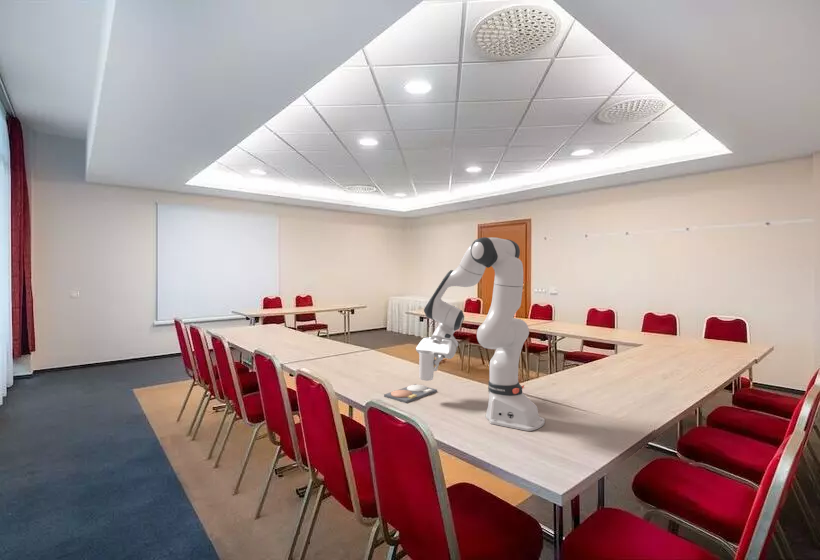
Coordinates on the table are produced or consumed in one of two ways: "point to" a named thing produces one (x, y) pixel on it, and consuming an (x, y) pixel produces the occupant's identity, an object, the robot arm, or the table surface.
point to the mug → (427, 365)
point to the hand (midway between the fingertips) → (428, 363)
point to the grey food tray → (410, 393)
